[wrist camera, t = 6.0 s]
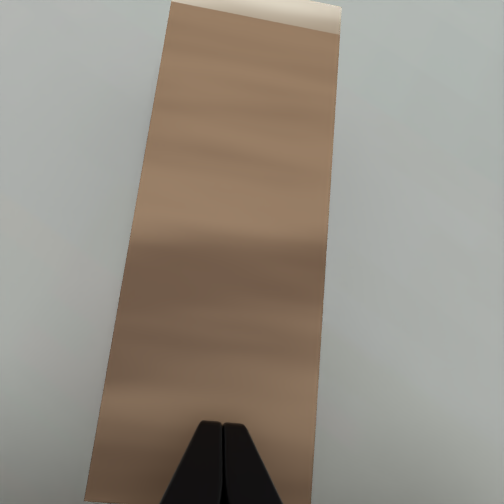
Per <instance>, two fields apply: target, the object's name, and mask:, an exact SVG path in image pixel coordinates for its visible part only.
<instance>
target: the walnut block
mask: <svg viewBox="0 0 504 504" xmlns="http://www.w3.org/2000/svg"><path fill="white" fill-rule="evenodd" d="M341 8H342V7H339V6H334V5H329V4H324V3H319V2H315V1H310V0H172V1H171V6H170V12H169V18H168V24H167V29H166V35H165V41H164V46H163V52H162V58H161V64H160V69H159V75H158V81H157V86H156V92H155V98H154V104H153V109H152V115H151V121H150V126H149V132H148V138H147V144H146V149H145V155H144V161H143V167H142V172H141V178H140V184H139V189H138V195H137V201H136V207H135V212H134V218H133V224H132V229H131V235H130V241H129V247H128V252H127V258H126V264H125V269H124V275H123V281H122V287H121V292H120V298H119V304H118V309H117V315H116V321H115V327H114V332H113V338H112V344H111V349H110V355H109V361H108V367H107V372H106V378H105V384H104V390H103V395H102V401H101V407H100V412H99V418H98V424H97V430H96V435H95V441H94V447H93V452H92V458H91V464H90V470H89V475H88V481H87V487H86V492H85V498H84V501H88V502H103V503H117V504H159V503H160V501H161V499H162V497H163V494H164V492H165V490H166V488H167V486H168V484H169V482H170V480H171V478H172V476H173V474H174V472H175V470H176V468H177V466H178V464H179V462H180V460H181V458H182V456H183V454H184V452H185V450H186V448H187V446H188V444H189V442H190V440H191V438H192V436H193V434H194V432H195V430H196V428H197V426H198V424H199V423H200V422H201V421H202V420H209V421H219V422H221V423H222V425H223V424H224V423H226V422H230V423H241V424H244V425H245V426H246V428H247V429H248V431H249V433H250V436H251V438H252V440H253V442H254V444H255V446H256V448H257V450H258V452H259V454H260V456H261V458H262V461H263V463H264V465H265V467H266V469H267V471H268V473H269V475H270V477H271V479H272V481H273V483H274V486H275V488H276V490H277V492H278V494H279V496H280V498H281V500H282V502H283V504H311V490H312V474H313V458H314V442H315V426H316V410H317V394H318V378H319V362H320V346H321V330H322V314H323V298H324V282H325V266H326V249H327V233H328V217H329V201H330V185H331V169H332V153H333V137H334V121H335V105H336V89H337V73H338V57H339V41H340V24H341Z"/></svg>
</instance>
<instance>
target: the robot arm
mask: <svg viewBox="0 0 504 504" xmlns="http://www.w3.org/2000/svg"><path fill="white" fill-rule="evenodd" d="M159 504H283V502H282V500H281V498H280V496H279V494H278V492H277V490H276V488H275V486H274V483H273V481H272V479H271V477H270V475H269V473H268V471H267V469H266V467H265V465H264V463H263V461H262V458H261V456H260V454H259V452H258V450H257V448H256V446H255V444H254V442H253V440H252V438H251V436H250V433H249V431H248V429H247V428H246V426H245V425H244V424H241V423H230V422H226V423H224V424H223V425H222V423H221V422H219V421H209V420H202V421H201V422H200V423H199V424H198V426H197V428H196V430H195V432H194V434H193V436H192V438H191V440H190V442H189V444H188V446H187V448H186V450H185V452H184V454H183V456H182V458H181V460H180V462H179V464H178V466H177V468H176V470H175V472H174V474H173V476H172V478H171V480H170V482H169V484H168V486H167V488H166V490H165V492H164V494H163V497H162V499H161V501H160V503H159Z"/></svg>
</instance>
